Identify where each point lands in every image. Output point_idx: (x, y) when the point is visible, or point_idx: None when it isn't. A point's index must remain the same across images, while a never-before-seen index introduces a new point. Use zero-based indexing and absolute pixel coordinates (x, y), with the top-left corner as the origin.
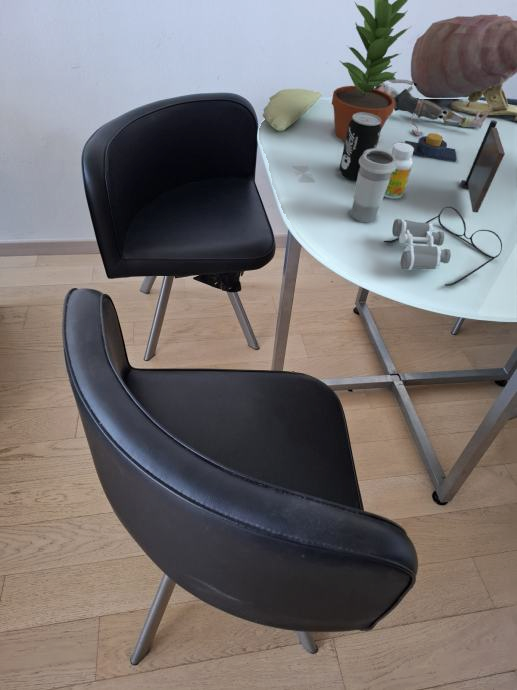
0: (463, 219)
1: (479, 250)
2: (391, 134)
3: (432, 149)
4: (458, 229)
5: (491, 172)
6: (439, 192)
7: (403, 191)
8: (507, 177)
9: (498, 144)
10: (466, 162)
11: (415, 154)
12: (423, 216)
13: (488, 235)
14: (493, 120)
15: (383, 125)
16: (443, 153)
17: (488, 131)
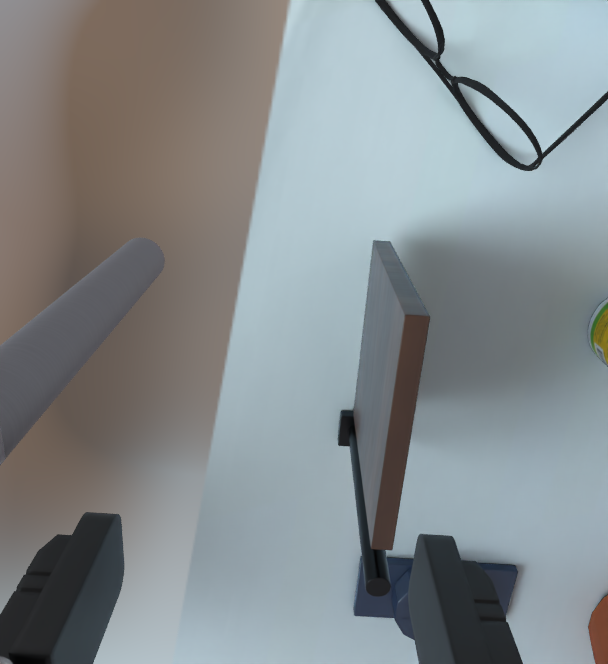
0: (486, 94)
1: (399, 22)
2: (529, 654)
3: None
4: (441, 154)
5: (409, 286)
6: (453, 370)
7: (603, 314)
8: (211, 511)
9: (408, 400)
10: (326, 561)
11: (482, 564)
12: (547, 206)
13: (341, 144)
14: (379, 594)
15: (603, 651)
16: (399, 580)
17: (382, 551)
